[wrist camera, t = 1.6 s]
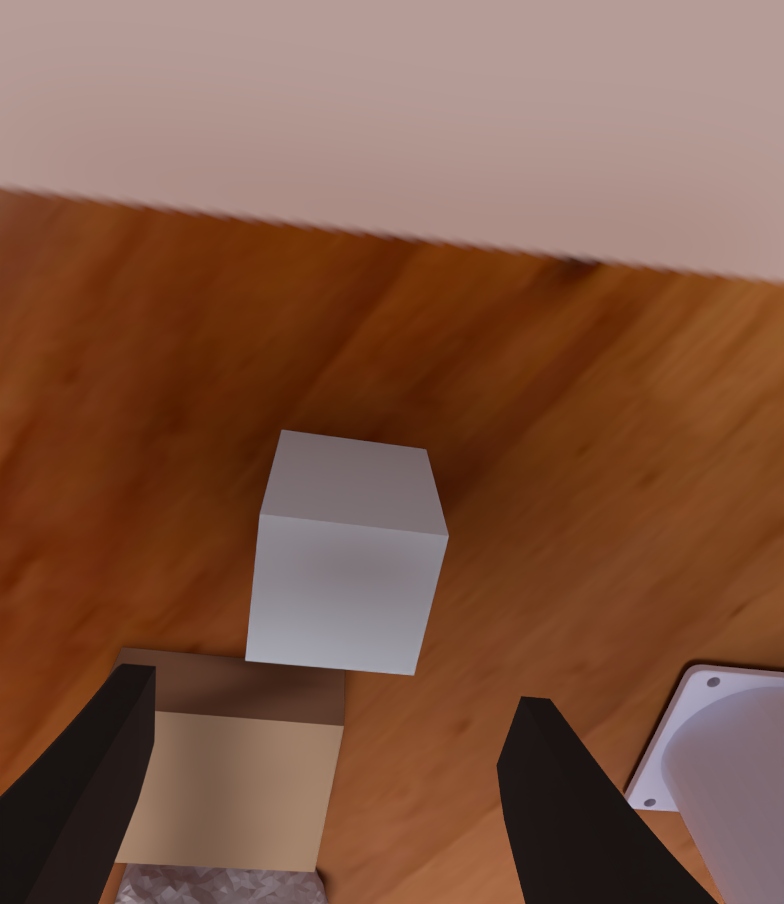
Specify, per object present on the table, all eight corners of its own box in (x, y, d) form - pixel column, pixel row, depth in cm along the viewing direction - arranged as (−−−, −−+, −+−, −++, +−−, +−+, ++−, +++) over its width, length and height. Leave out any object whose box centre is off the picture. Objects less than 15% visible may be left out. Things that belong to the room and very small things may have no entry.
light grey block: (426, 448, 19) (448, 536, 15) (400, 565, 21) (413, 675, 17) (281, 429, 19) (259, 513, 14) (268, 551, 21) (245, 660, 16)
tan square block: (345, 660, 23) (344, 726, 20) (318, 799, 26) (314, 872, 24) (125, 639, 22) (94, 706, 19) (126, 787, 25) (99, 861, 23)
